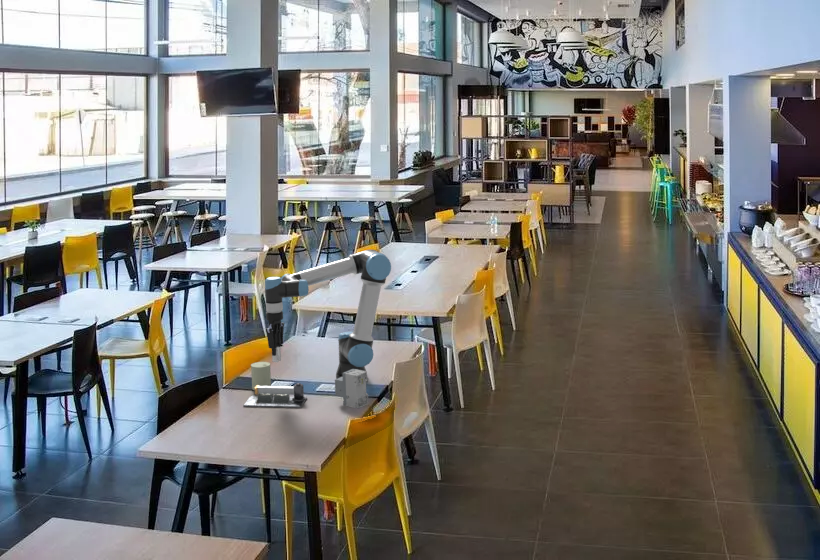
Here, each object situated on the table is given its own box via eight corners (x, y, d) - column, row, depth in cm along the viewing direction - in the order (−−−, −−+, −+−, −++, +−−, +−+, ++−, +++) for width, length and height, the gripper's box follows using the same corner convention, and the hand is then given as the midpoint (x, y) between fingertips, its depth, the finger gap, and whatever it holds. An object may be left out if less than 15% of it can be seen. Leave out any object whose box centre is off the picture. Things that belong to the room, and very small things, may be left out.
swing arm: (304, 396, 427) (304, 382, 425) (302, 399, 422) (302, 385, 421) (257, 395, 429) (256, 381, 428) (255, 398, 425) (254, 384, 423)
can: (262, 392, 438) (261, 367, 435) (247, 389, 442) (246, 364, 440) (275, 386, 445) (274, 362, 443) (260, 383, 450) (259, 359, 448)
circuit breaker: (343, 398, 427) (342, 366, 424) (368, 403, 419) (367, 371, 416) (332, 402, 421) (331, 370, 418) (358, 408, 413) (357, 375, 410)
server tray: (306, 398, 427) (306, 392, 427) (300, 408, 415) (300, 401, 414) (251, 397, 430) (251, 391, 430) (243, 406, 418) (243, 400, 417)
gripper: (275, 307, 433) (277, 356, 437) (258, 314, 419) (261, 364, 424) (289, 308, 430) (291, 357, 435) (273, 315, 416) (275, 366, 421)
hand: (276, 361), depth 429 cm, fingers open, 2 cm apart
